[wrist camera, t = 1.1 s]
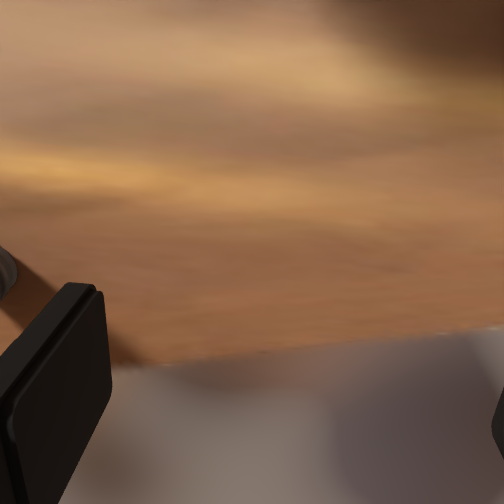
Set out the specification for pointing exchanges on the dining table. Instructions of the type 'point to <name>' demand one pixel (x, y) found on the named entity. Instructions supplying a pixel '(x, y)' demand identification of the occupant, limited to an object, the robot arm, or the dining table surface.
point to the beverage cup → (6, 272)
